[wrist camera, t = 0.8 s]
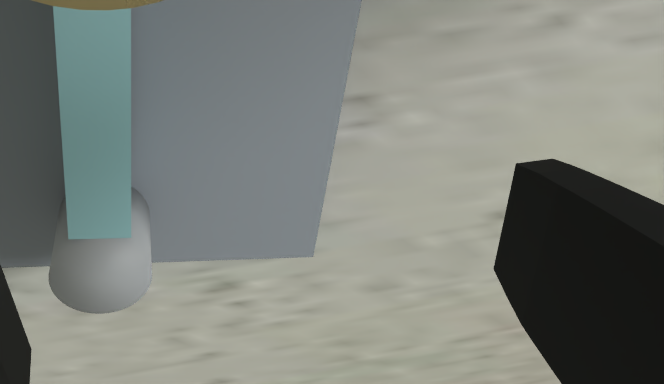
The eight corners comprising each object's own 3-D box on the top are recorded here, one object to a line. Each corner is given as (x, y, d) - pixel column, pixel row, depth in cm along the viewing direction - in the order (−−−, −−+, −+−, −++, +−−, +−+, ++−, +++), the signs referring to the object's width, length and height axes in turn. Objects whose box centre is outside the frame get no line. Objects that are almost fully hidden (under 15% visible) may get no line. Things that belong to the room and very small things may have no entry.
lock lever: (148, 247, 18) (151, 310, 16) (61, 250, 18) (52, 316, 16) (153, -35, 14) (157, -2, 12) (39, -47, 14) (21, -14, 11)
